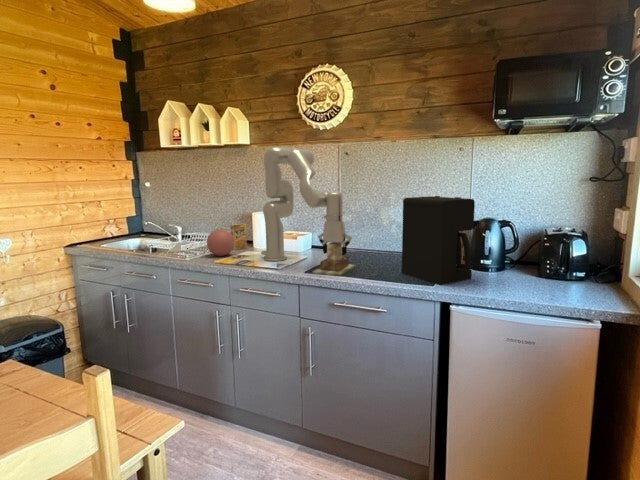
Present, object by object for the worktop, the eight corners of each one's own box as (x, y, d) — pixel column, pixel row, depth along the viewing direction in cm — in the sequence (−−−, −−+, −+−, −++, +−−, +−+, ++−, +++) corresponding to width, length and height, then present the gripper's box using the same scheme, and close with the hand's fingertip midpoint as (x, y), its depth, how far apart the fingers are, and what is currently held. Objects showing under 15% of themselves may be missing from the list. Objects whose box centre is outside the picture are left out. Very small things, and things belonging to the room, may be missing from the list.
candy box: (234, 249, 254) (232, 225, 252) (231, 248, 258) (230, 224, 255) (247, 248, 259) (246, 223, 257) (244, 247, 263) (243, 223, 260)
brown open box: (312, 273, 194) (312, 262, 193) (330, 264, 211) (330, 254, 211) (339, 276, 188) (339, 265, 187) (356, 266, 205) (356, 256, 204)
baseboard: (163, 254, 247) (184, 253, 248) (163, 249, 246) (184, 248, 248) (175, 245, 277) (193, 244, 279) (175, 240, 277) (193, 240, 278)
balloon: (243, 252, 246) (242, 226, 243) (226, 259, 227) (224, 231, 225) (221, 251, 251) (219, 226, 248) (202, 257, 232) (200, 230, 230)
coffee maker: (480, 280, 176) (484, 198, 171) (447, 287, 167) (450, 200, 161) (432, 268, 201) (434, 195, 195) (401, 273, 191) (402, 197, 185)
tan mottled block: (327, 269, 197) (327, 244, 195) (334, 265, 204) (334, 241, 202) (335, 269, 195) (334, 244, 193) (341, 266, 202) (341, 242, 200)
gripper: (314, 218, 196) (315, 254, 199) (348, 220, 188) (348, 256, 191) (321, 216, 202) (321, 251, 205) (354, 218, 195) (354, 253, 198)
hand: (334, 253), depth 198 cm, fingers open, 9 cm apart
